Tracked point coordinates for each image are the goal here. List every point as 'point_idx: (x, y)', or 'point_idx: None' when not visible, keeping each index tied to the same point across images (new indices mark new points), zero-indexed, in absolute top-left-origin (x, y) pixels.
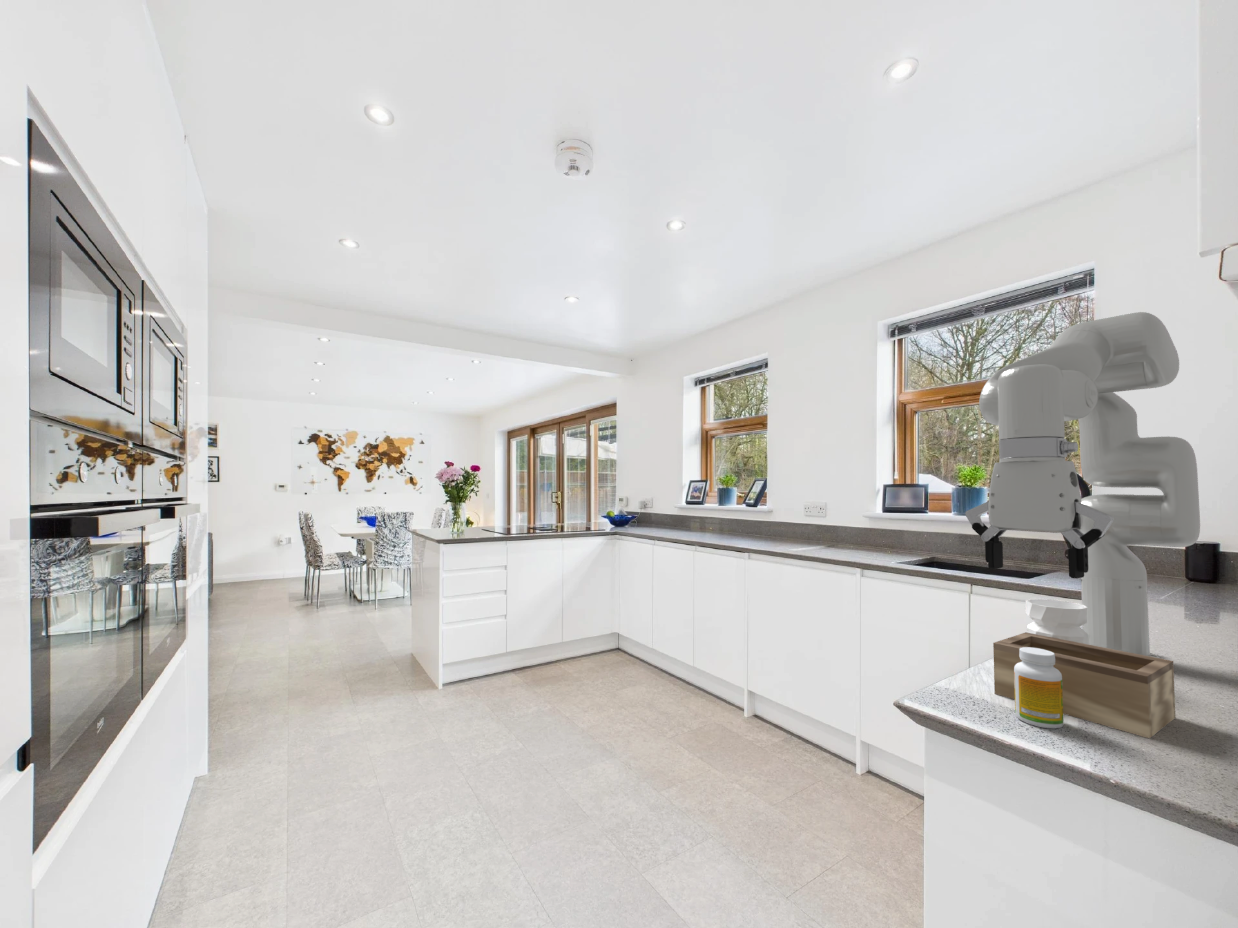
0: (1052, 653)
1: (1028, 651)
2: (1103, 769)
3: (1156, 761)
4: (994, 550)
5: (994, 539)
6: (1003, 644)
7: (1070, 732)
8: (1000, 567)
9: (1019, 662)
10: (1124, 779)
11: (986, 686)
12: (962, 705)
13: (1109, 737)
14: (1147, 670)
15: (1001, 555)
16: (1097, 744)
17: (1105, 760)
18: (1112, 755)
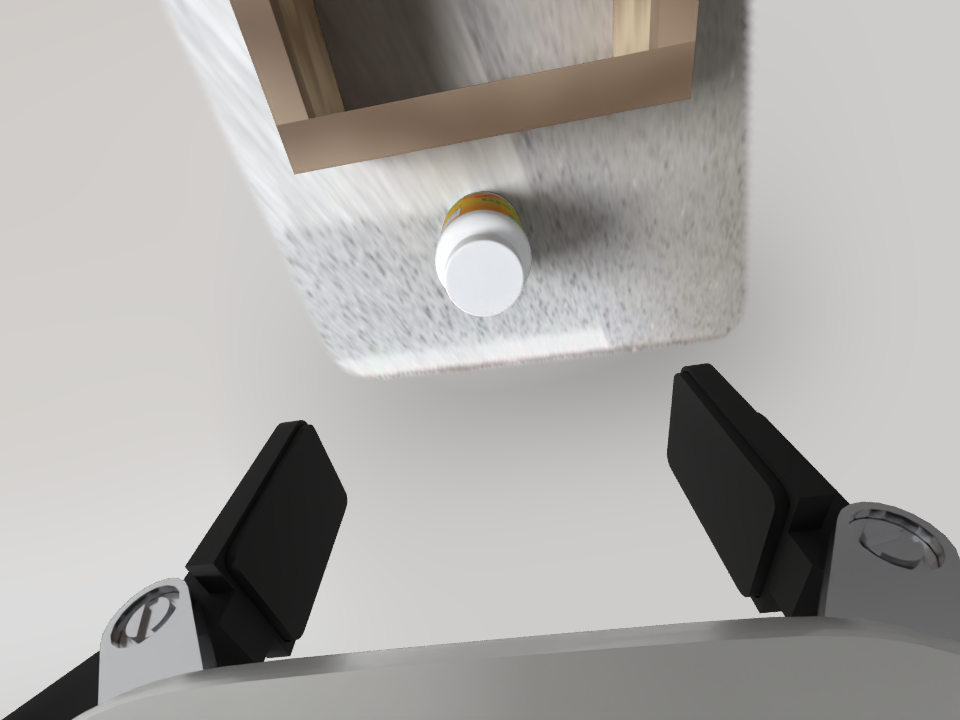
0: (516, 264)
1: (477, 305)
2: (618, 328)
3: (660, 221)
4: (315, 585)
5: (262, 652)
6: (317, 160)
7: (536, 231)
8: (322, 445)
9: (444, 273)
10: (644, 332)
11: None
12: (378, 294)
13: (582, 183)
14: (679, 4)
15: (289, 487)
16: (582, 241)
17: (610, 295)
18: (611, 265)
